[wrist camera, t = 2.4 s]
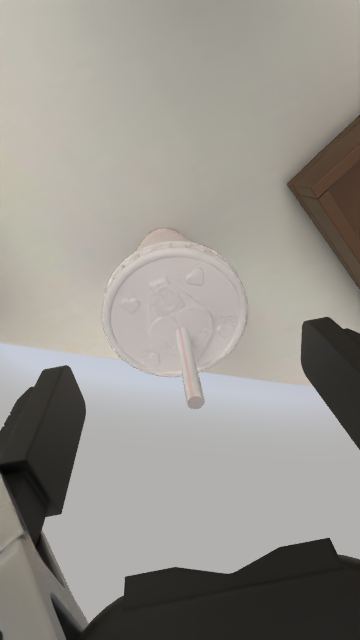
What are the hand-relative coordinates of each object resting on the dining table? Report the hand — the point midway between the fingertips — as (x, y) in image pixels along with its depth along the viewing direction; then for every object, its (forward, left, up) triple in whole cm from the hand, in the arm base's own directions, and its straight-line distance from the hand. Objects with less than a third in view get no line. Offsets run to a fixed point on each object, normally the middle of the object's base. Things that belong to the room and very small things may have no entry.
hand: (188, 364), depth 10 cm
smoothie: (0, 0, -13) cm, 13 cm away
